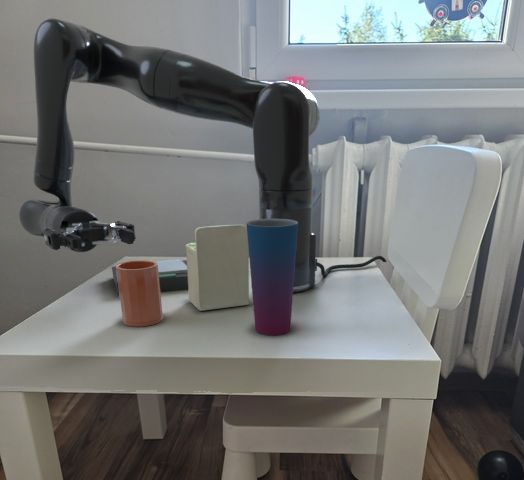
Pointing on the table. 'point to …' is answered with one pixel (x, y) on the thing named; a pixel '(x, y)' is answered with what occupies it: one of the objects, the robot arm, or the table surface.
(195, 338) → the table surface
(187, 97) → the robot arm
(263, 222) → the cup
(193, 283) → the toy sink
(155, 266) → the tumbler
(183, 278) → the scale
